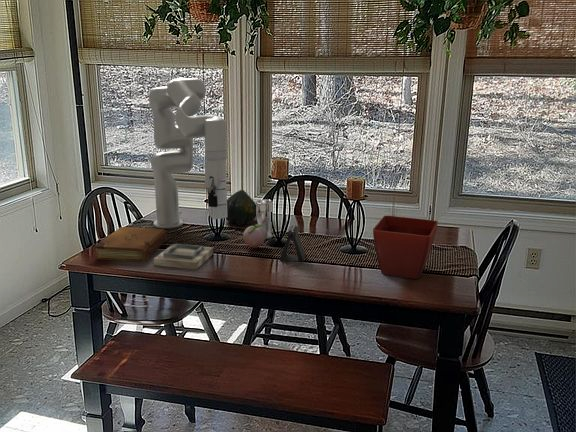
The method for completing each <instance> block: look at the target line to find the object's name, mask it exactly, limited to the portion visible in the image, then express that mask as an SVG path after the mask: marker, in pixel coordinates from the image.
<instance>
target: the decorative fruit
mask: <svg viewBox="0 0 576 432" xmlns="http://www.w3.org/2000/svg"><path fill="white" fill-rule="evenodd" d="M261 226H262V225H260V224H256V223H254V224H253V225H250V226H248V227H246V228H245V229H244V231H243V235H242V238H243V240H244V242H245V244H246V245H247V246H248V247H250V248H252V249H257V248H259V247H260V246H261V245H262V244H263V243H264V242H265V240H266V239H265V237H266V232H265V230H264V229H263V228H262V227H261Z"/></svg>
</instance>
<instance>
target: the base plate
mask: <svg viewBox="0 0 576 432" xmlns="http://www.w3.org/2000/svg"><path fill="white" fill-rule="evenodd" d="M212 255H214V247H212V246H211V247H210V246H204V245H197V244H196V245H194V244H186V243H185V244H184V243H172V244H171V245H170V246H168V247H167V248H166V249H164V250H163V251H161V253H158V255H156V256H155V257H153V265H154V266H161V267H169V268H179V269H186V270H187V269H188V270H197V269H198V268H199V267H201V266H202V265H203V264H204V263H205V262H206V261H207V260H208V259H209V258H210V257H212Z"/></svg>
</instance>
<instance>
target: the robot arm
mask: <svg viewBox="0 0 576 432" xmlns="http://www.w3.org/2000/svg"><path fill="white" fill-rule="evenodd" d="M206 90H207V89H206V85H205V83H204V82H203V81H202V80H201V79H200V78H197V77H196V78H193V77H192V78H191V77H190V78H188V77H187V78H174V79H172V80H170V81H169V82H168V84H167V85H166V86H158V87H154V88H152V89H151V90H150V92H149V94H148V103H149V106H150V109H151V112H152V118H153V139H154V140H153V141H154V145H155V147H156V148H157V149H159V150H170V151H161V152H157V153H155V154H153V156H151V158H150V165H151V169H152V173H153V178H154V179H153V180H154V192H155V206H156V207H155V210H156V220H154V221H153V226H154V227H155V228H157V229H172V228H173V229H175V228H179V227H181V226H183V224H184V220H183V219H181V218H180V215H182V210H180V209H179V207H180V203H179V186H178V183H177V180H175V179H174V177H173V176H172V175H175V174H181V173H182V174H183V173H188V172H190V171H191V170H192V169H193V166H194V139H197V138H204V157H205V158H204V159H205V166H204V167H205V168H204V187H205V189H206V190H207V191H206V192H207V207H208V206H209V207H217V206H218V203H217V196H216V194H217V189H218V188H219V187H220V185H221V178H223V177H224V178H226V179H227V161H226V160H227V159H228V148H227V147H228V145H227V144H228V143H227V141H228V140H227V139H228V138H227V134H228V133H227V121H226V120H225V119H224V118H220V117H219V116H217V115H214V114H210V115H209V114H206V115H204V114H203V115H196V114H197V113H198V112H199V111H200V109H201V107H202V101H203V100H204V99H205V97H206V94H207V91H206ZM172 109H176V111H175V114H174V111H173V110H172ZM175 122H176V123H175ZM175 124H176V125H175ZM174 149H176V150H174ZM177 149H179V150H177ZM172 150H173V151H172ZM213 182H214V185H215V186H216V187H212V184H213ZM212 189H215V190H214V191H213V190H212Z"/></svg>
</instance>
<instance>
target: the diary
mask: <svg viewBox="0 0 576 432" xmlns="http://www.w3.org/2000/svg"><path fill="white" fill-rule="evenodd" d="M166 241H167V231H166V229H165V228H153V227H152V228H151V227H149V228H148V227H133V226H132V227H130V226H129V227H128V226H120V227H118V228H117V229H116V230H115V231H113V232H112V233H110V234H108V236H106V237H105V238H104V239H103V240H101V241H99V242H98V243H97V244H95V245H94V249H96V251H97V257H95V260H100V261H101V260H102V261H103V260H104V261H116V262H117V261H118V262H119V261H120V262H132V263H133V262H134V263H135V262H136V263H145V261H147V260H148V259H149V257H151V256H152V255H153V254H154V253H155V252H156V251H158V249H159V248H160V247H162V245H164V243H166Z"/></svg>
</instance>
